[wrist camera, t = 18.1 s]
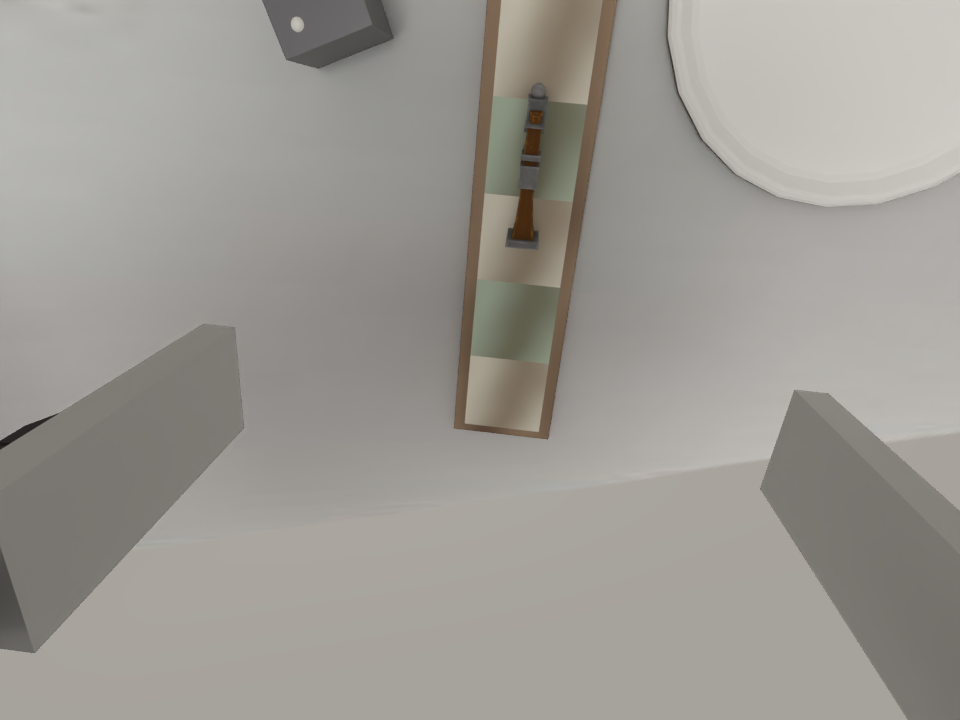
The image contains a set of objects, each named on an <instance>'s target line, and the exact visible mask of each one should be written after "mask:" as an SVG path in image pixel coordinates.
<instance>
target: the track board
mask: <svg viewBox="0 0 960 720" xmlns="http://www.w3.org/2000/svg"><path fill="white" fill-rule="evenodd" d="M616 4H617V0H487V11H486V24H485V37H484V50H483V62H482V75H481V88H480V101H479V114H478V126H477V139H476V152H475V165H474V178H473V190H472V203H471V216H470V229H469V241H468V254H467V267H466V280H465V293H464V305H463V318H462V331H461V344H460V357H459V369H458V382H457V395H456V408H455V421H454V428H456V429H464V430H473V431H481V432H490V433H498V434H507V435H516V436H524V437H533V438H541V439H548V437H549V430H550V424H551V418H552V411H553V405H554V398H555V392H556V386H557V379H558V373H559V367H560V360H561V354H562V348H563V341H564V335H565V328H566V322H567V316H568V309H569V303H570V297H571V290H572V284H573V277H574V271H575V265H576V258H577V252H578V246H579V239H580V233H581V227H582V220H583V214H584V207H585V201H586V195H587V188H588V182H589V176H590V169H591V163H592V156H593V150H594V144H595V137H596V131H597V125H598V118H599V112H600V105H601V99H602V93H603V86H604V80H605V74H606V67H607V61H608V55H609V48H610V42H611V35H612V29H613V23H614V16H615V10H616ZM536 83H542V84H543V85H544V86H545V87H546V95H548V98H549V101H548V105H547V110H546V117H545V130H544V134H541V139H540V147H541V162H540V168H539V171H538V177H537V190H534V197H533V227H534V230H537V231H539V246H538V250H528V249H517V248H506V247H505V243H506V237H507V233H508V228H513V227H514V223H515V219H516V214H517V208H518V202H519V197H520V188H518V184H519V179H520V162H521V161H520V160H521V154H522V149H523V147H524V145H525V141H526V135H527V132H524V126H525V121H526V117H527V110H528V94H531V88H532V86H533V85H534V84H536Z"/></svg>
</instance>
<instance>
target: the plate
mask: <svg viewBox="0 0 960 720" xmlns="http://www.w3.org/2000/svg"><path fill="white" fill-rule="evenodd" d="M667 39H668V44H669V49H670V54H671V59H672V64H673V69H674V74H675V79H676V84H677V90H678V94H679V96H680V98H681V99H682V101H683V103H684V105H685V107H686V109H687V111H688V113H689V115H690V117H691V119H692V121H693V123H694V125H695V127H696V129H697V131H698V133H699V135H700V137H701V139H702V140H703V141H704V142H705V143H706V144H707V145H708V146H709V147H710V148H711V149H712V151H713V152H714V153H715V154H716V155H717V156H718V157H719V158H720V159H721V160H722V161H723V162H724V163H725V164H726V165H727V166H728V167H729V168H730V169H731V170H732V171H733V172H734V173H735V174H736V175H738V176H740V177H742V178H743V179H745V180H747V181H749V182H751V183H753V184H755V185H756V186H758V187H760V188H762V189H764V190H766V191H767V192H769V193H771V194H773V195H775V196H777V197H780V198H784V199H789V200H794V201H799V202H804V203H809V204H813V205H818V206H823V207H836V206H852V205H868V204H880V203H883V202H887V201H890V200H893V199H896V198H900V197H903V196H906V195H909V194H913V193H916V192H919V191H923V190H926V189H929V188H932V187H935V186H937V185H938V184H940V183H942V182H944V181H946V180H948V179H949V178H951V177H953V176H955V175H957V174H958V173H960V0H669V9H668V29H667Z"/></svg>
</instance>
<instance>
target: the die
mask: <svg viewBox="0 0 960 720" xmlns="http://www.w3.org/2000/svg"><path fill="white" fill-rule="evenodd" d="M262 1H263V3H264V6H265V8H266V11H267V13H268V16H269V18H270V21H271V23H272V26H273V28H274V31H275V33H276V36H277V38H278V41H279V43H280V46H281V48H282V51H283V53H284V56H285V58H286V60H288V61H292V62H296V63H300V64H303V65H307V66H311V67H314V68H321V67H323V66H326V65H328V64H331V63H333V62H336V61H338V60H341V59H343V58H346V57H348V56H351V55H353V54H356V53H358V52H361V51H363V50H366V49H368V48H371V47H373V46H376V45H378V44H381V43H383V42H386V41H388V40H391V39H393V35H392V32H391V29H390V26H389V23H388V20H387V17H386V14H385V11H384V8H383V5H382V2H381V0H262Z"/></svg>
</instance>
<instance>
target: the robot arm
mask: <svg viewBox="0 0 960 720" xmlns="http://www.w3.org/2000/svg"><path fill="white" fill-rule="evenodd" d="M243 429H244V422H243V411H242V400H241V390H240V379H239V368H238V357H237V346H236V335H235V327H226V326H217V325H208V324H202V325H201V326H199V327H198V328H196V329H194V330H193V331H191V332H190V333H188V334H186V335H185V336H183V337H181V338H180V339H178V340H177V341H175V342H173V343H172V344H170V345H169V346H167V347H165V348H164V349H162V350H161V351H159V352H157V353H156V354H154V355H152V356H151V357H149V358H148V359H146V360H144V361H143V362H141V363H140V364H138V365H136V366H135V367H133V368H131V369H130V370H128V371H127V372H125V373H123V374H122V375H120V376H119V377H117V378H115V379H114V380H112V381H110V382H109V383H107V384H106V385H104V386H102V387H101V388H99V389H98V390H96V391H94V392H93V393H91V394H89V395H88V396H86V397H85V398H83V399H81V400H80V401H78V402H77V403H75V404H73V405H72V406H70V407H68V408H67V409H65V410H64V411H62V412H60V413H59V414H56V415H53V416H50V417H47V418H45V419H42V420H39V421H37V422H34V423H31V424H29V425H26V426H24V427H22V428H21V429H19V430H17V431H16V432H14V433H12V434H11V435H9V436H7V437H6V438H4V439H2V440H1V441H0V649H8V650H15V651H22V652H30V653H35V652H36V651H37V650H38V649H39V648H40V647H41V646H42V645H43V644H44V643H45V642H46V640H48V638H49V637H50V636H51V635H52V634H53V633H54V632H55V631H56V630H57V629H58V628H59V627H60V626H61V624H62V623H63V622H64V621H65V620H66V619H67V618H68V617H69V616H70V615H71V614H72V612H73V611H74V610H75V609H76V608H77V607H78V606H79V605H80V604H81V603H82V602H83V601H84V600H85V599H86V598H87V596H88V595H89V594H90V593H91V592H92V591H93V590H94V589H95V588H96V587H97V586H98V584H100V582H101V581H102V580H103V579H104V578H105V577H106V576H107V575H108V574H109V573H110V572H111V571H112V569H113V568H114V567H115V566H116V565H117V564H118V563H119V562H120V561H121V560H122V559H123V558H124V557H125V556H126V554H127V553H128V552H129V551H130V550H131V549H132V548H133V547H134V546H135V545H136V544H137V543H138V542H139V540H140V539H141V538H142V537H143V536H144V535H145V534H146V533H147V532H148V531H149V530H150V529H151V528H152V526H153V525H154V524H155V523H156V522H157V521H158V520H159V519H160V518H161V517H162V516H163V515H164V514H165V512H166V511H167V510H168V509H169V508H170V507H171V506H172V505H173V504H174V503H175V502H176V501H177V500H178V498H179V497H180V496H181V495H182V494H183V493H184V492H185V491H186V490H187V489H188V488H189V487H190V486H191V484H192V483H193V482H194V481H195V480H196V479H197V478H198V477H199V476H200V475H201V474H202V473H203V472H204V471H205V469H206V468H207V467H208V466H209V465H210V464H211V463H212V462H213V461H214V460H215V459H216V458H217V457H218V455H219V454H220V453H221V452H222V451H223V450H224V449H225V448H226V447H227V446H228V445H229V444H230V443H231V441H232V440H233V439H234V438H235V437H236V436H237V435H238V434H239V433H240V432H241V431H242V430H243ZM760 490H761V491H762V493H763V494H764V496H765V497H766V499H767V501H768V502H769V503H770V505H771V507H772V508H773V510H774V511H775V513H776V515H777V516H778V518H779V519H780V521H781V522H782V524H783V525H784V527H785V528H786V530H787V532H788V533H789V535H790V536H791V538H792V540H793V541H794V543H795V544H796V546H797V547H798V549H799V550H800V552H801V553H802V555H803V557H804V558H805V560H806V561H807V563H808V565H809V566H810V568H811V569H812V571H813V572H814V573H815V576H816V577H817V579H818V580H819V582H820V583H821V585H822V586H823V588H824V589H825V591H826V592H827V594H828V596H829V597H830V599H831V600H832V602H833V604H834V605H835V607H836V608H837V610H838V611H839V613H840V614H841V616H842V618H843V619H844V621H845V622H846V624H847V625H848V627H849V629H850V630H851V632H852V633H853V635H854V636H855V638H856V639H857V641H858V643H859V644H860V646H861V647H862V649H863V650H864V652H865V654H866V655H867V657H868V658H869V660H870V661H871V663H872V665H873V666H874V668H875V669H876V671H877V672H878V674H879V675H880V677H881V679H882V680H883V682H884V683H885V685H886V686H887V688H888V690H889V691H890V693H891V694H892V696H893V697H894V699H895V700H896V702H897V704H898V705H899V707H900V708H901V710H902V711H903V713H904V714H905V716H906V718H907V719H908V720H960V511H959V510H958V509H957V508H956V507H955V506H954V505H953V504H951V503H950V502H949V501H948V500H947V499H946V498H945V497H944V496H943V495H941V494H940V493H939V492H938V491H937V490H936V489H935V488H934V487H932V486H931V485H930V484H929V483H928V482H927V481H926V480H925V479H923V478H922V477H921V476H920V475H919V474H918V473H917V472H916V471H915V470H913V469H912V468H911V467H910V466H909V465H908V464H907V463H906V462H904V461H903V460H902V459H901V458H900V457H899V456H898V455H896V454H895V453H894V452H893V451H892V450H891V449H890V448H889V447H888V446H887V445H885V444H884V443H883V442H882V441H881V440H880V439H879V438H878V437H876V436H875V435H874V434H873V433H872V432H871V431H870V430H869V429H868V428H866V427H865V426H864V425H863V424H862V423H861V422H860V421H859V420H857V419H856V418H855V417H854V416H853V415H852V414H851V413H850V412H848V411H847V410H846V409H845V408H844V407H843V406H842V405H841V404H840V403H838V402H837V401H836V400H835V399H834V398H833V397H832V396H831V395H829V394H828V393H819V392H810V391H801V390H794V393H793V396H792V398H791V401H790V404H789V407H788V410H787V413H786V416H785V419H784V421H783V424H782V427H781V430H780V433H779V436H778V439H777V441H776V444H775V447H774V450H773V453H772V456H771V459H770V462H769V464H768V468H767V470H766V473H765V476H764V479H763V482H762V485H761V488H760Z"/></svg>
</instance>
